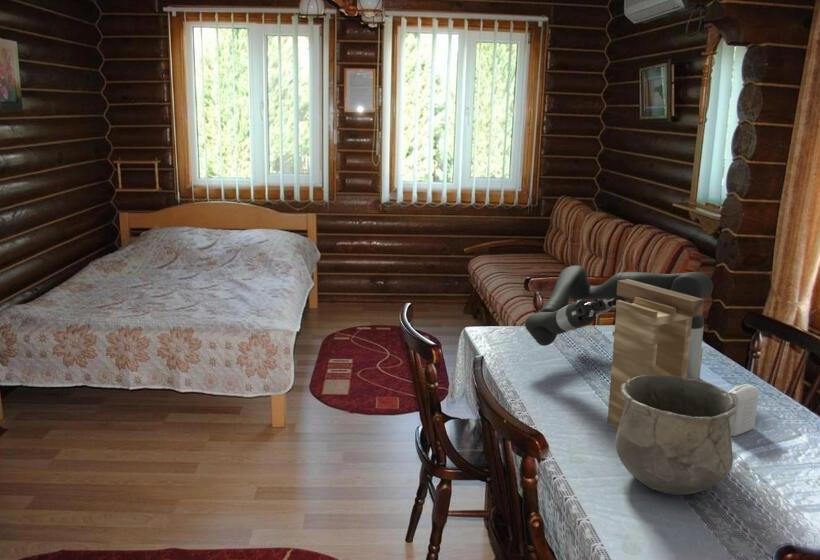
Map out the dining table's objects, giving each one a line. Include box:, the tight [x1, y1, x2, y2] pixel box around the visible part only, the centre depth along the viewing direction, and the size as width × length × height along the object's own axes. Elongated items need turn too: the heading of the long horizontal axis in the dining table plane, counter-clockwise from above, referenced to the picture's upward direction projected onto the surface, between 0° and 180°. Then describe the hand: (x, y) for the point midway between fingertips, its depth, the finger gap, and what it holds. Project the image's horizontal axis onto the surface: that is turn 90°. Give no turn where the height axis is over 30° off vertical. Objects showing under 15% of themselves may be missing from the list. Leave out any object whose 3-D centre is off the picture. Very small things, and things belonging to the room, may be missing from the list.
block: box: [617, 279, 705, 318], centre depth 176 cm, size 4×24×4 cm, turn 30°
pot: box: [615, 375, 737, 496], centre depth 150 cm, size 25×24×21 cm
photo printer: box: [727, 383, 760, 437], centre depth 177 cm, size 10×4×12 cm, turn 123°
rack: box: [607, 297, 692, 429], centre depth 177 cm, size 14×12×34 cm
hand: (613, 300), depth 189 cm, fingers open, 8 cm apart
